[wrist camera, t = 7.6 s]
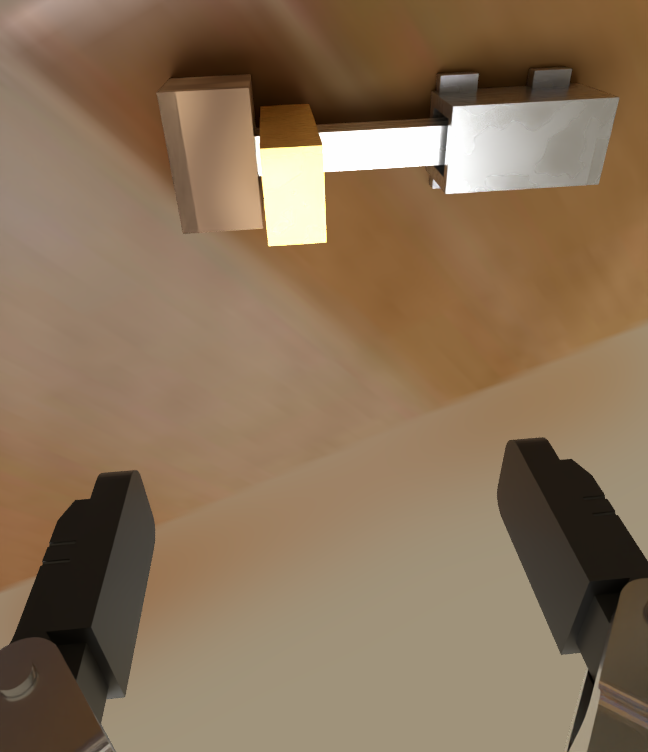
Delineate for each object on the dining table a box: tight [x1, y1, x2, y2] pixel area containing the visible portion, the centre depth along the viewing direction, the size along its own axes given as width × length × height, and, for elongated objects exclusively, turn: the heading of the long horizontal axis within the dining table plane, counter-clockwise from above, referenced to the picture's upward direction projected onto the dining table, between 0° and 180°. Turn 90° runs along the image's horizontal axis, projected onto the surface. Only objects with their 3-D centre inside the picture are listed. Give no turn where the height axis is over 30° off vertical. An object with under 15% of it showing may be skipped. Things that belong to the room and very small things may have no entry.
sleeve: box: [426, 67, 619, 194], centre depth 37 cm, size 10×7×5 cm
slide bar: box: [253, 104, 449, 246], centre depth 33 cm, size 16×5×11 cm, turn 92°
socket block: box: [157, 74, 263, 234], centre depth 36 cm, size 5×8×5 cm, turn 2°
